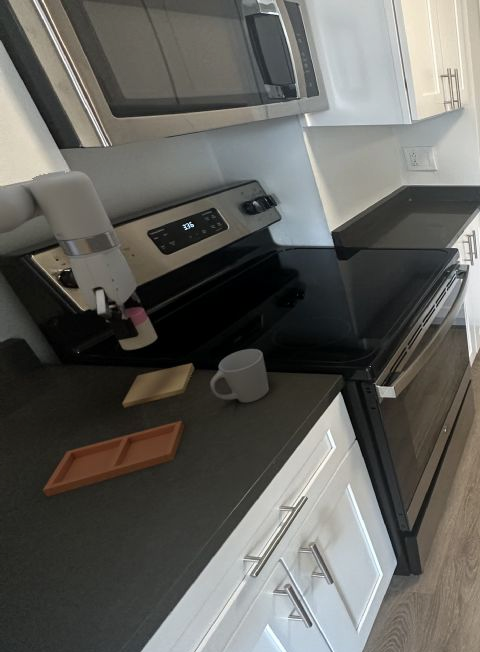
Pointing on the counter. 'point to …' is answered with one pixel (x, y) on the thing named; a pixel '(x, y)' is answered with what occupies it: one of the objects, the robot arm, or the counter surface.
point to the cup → (243, 376)
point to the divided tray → (115, 457)
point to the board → (159, 385)
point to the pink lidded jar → (139, 330)
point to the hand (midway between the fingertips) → (133, 329)
